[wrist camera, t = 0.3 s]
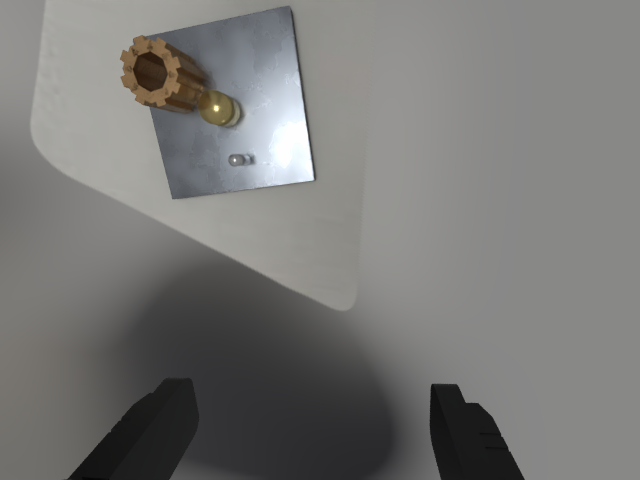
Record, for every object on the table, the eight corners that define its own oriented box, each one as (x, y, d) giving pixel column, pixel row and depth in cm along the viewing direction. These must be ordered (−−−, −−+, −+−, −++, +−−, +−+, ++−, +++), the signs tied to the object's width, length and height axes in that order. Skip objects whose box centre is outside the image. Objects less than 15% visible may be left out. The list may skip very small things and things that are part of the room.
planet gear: (144, 62, 34) (109, 47, 29) (194, 44, 33) (167, 25, 28) (164, 120, 35) (134, 114, 31) (213, 104, 34) (190, 96, 30)
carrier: (140, 43, 35) (107, 26, 30) (291, 10, 32) (281, -13, 28) (178, 198, 39) (154, 203, 34) (315, 179, 36) (309, 182, 32)
